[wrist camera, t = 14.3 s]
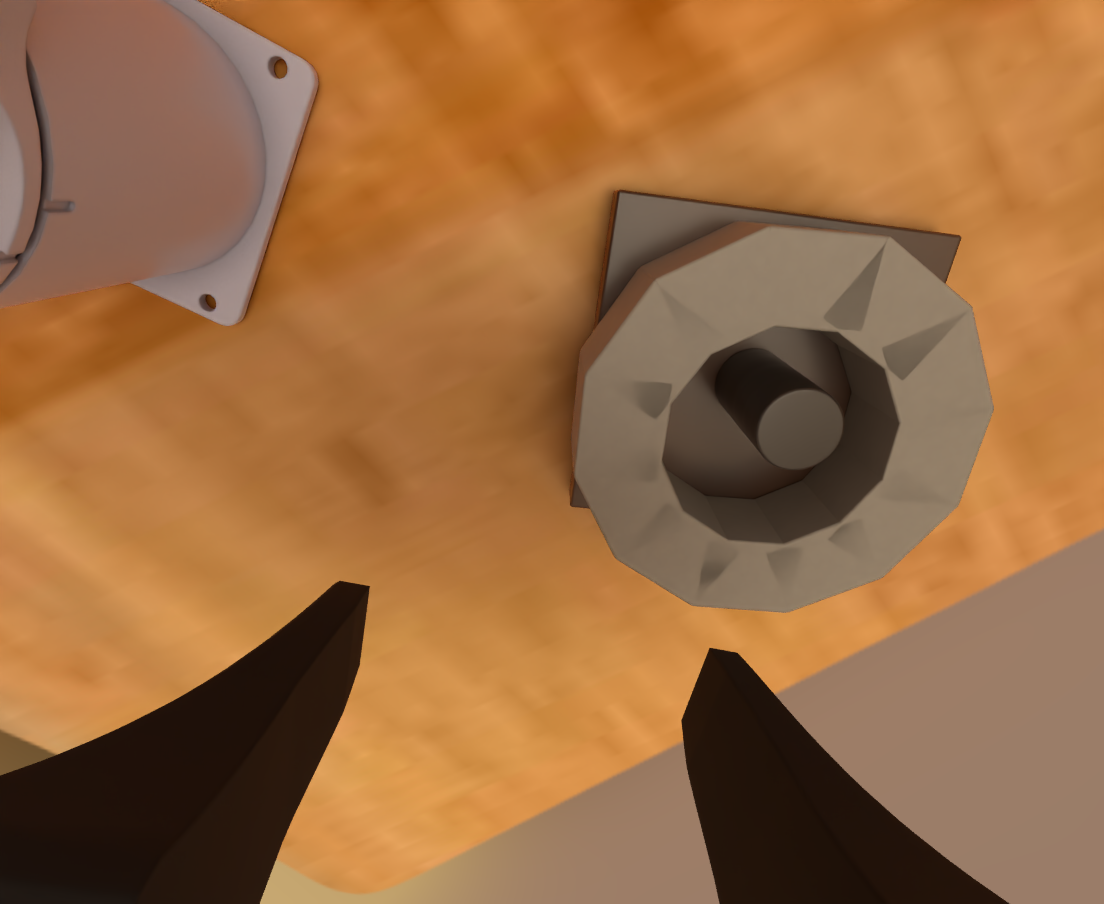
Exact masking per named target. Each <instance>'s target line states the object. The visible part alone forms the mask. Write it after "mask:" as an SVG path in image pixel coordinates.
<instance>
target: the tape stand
mask: <svg viewBox="0 0 1104 904" xmlns="http://www.w3.org/2000/svg"><path fill="white" fill-rule="evenodd" d="M738 221H744V222H755V223H766V224H777V225H788V226H799V227H810V228H821V229H832V230H842V231H850V232H859V233H868V234H876V235H885V236H890V237H891V238H892V239H894V240H895V241H896V242H897V243H898V244H899V245H901V246H902V247H903V248H904V249H905V250H906V251H908V252H909V253H910V254H911V255H912V256H913V257H915V258H916V259H917V260H918V261H919V262H921V263H922V264H923V265H924V266H925V267H926V268H928V269H929V270H930V271H931V272H932V273H933V274H935V275H936V276H937V277H938V278H939V279H940V280H942V281H943V282H944V283H946V281H947V278H948V275H949V272H950V269H951V266H952V263H953V261H954V258H955V255H956V252H957V249H958V246H959V243H960V241H961V236H959V235H954V234H946V233H939V232H931V231H924V230H916V229H909V228H901V227H894V226H887V225H879V224H872V223H864V222H857V221H849V220H842V219H834V218H827V217H820V216H812V215H805V214H797V213H790V212H782V211H775V210H767V209H760V208H753V207H745V206H738V205H730V204H723V203H715V202H708V201H700V200H693V199H686V198H678V197H671V196H663V195H656V194H648V193H641V192H633V191H626V190H616V191H615V192H614V194H613V201H612V208H611V214H610V221H609V228H608V235H607V241H606V248H605V255H604V262H603V268H602V275H601V282H600V289H599V295H598V302H597V309H596V316H595V322H594V329H593V331H594V330H595V328H596V327H597V325H598V324H599V323H600V321H601V320H602V319H603V317H604V316H605V314H606V313H607V312H608V310H609V309H610V307H611V306H612V305H613V303H614V302H615V300H616V299H617V298H618V296H619V295H620V294H621V292H622V291H623V289H624V288H625V287H626V285H627V284H628V282H629V281H630V280H631V278H632V277H633V276H634V274H635V273H636V271H637V270H638V269H639V268H640V267H641V266H643V265H645V264H647V263H649V262H651V261H653V260H655V259H657V258H659V257H661V256H664V255H666V254H668V253H670V252H672V251H674V250H676V249H678V248H680V247H683V246H685V245H687V244H689V243H691V242H693V241H695V240H697V239H699V238H701V237H704V236H706V235H708V234H710V233H712V232H714V231H716V230H718V229H720V228H722V227H725V226H727V225H729V224H731V223H733V222H738ZM851 393H852V391H851V388H850V385H849V381H848V378H847V375H846V371H845V368H844V365H843V361H842V358H841V355H840V351H839V348H838V345H837V344H836V343H834V342H833V341H832V340H831V339H829V338H828V337H827V336H825V335H824V334H823V333H822V332H820V331H815V330H804V329H792V328H780V327H772V328H770V329H768V330H765V331H763V332H761V333H759V334H756V335H754V336H752V337H750V338H747V339H745V340H743V341H741V342H738V343H736V344H734V345H732V346H729V347H727V348H725V349H723V350H720V351H718V352H716V353H713V354H711V355H710V357H709V358H708V359H707V360H706V362H705V363H704V364H703V365H702V367H701V368H700V369H699V370H698V371H697V373H696V374H695V375H694V376H693V378H692V379H691V380H690V381H689V383H688V384H687V385H686V386H685V388H684V389H683V390H682V391H681V393H680V394H679V395H678V396H677V398H676V399H675V400H674V401H673V403H672V404H671V409H670V415H669V421H668V427H667V433H666V440H665V446H664V452H663V458H662V461H663V463H664V465H665V468H666V470H668V471H669V472H671V473H672V474H674V475H675V476H677V477H678V478H680V479H681V480H683V481H684V482H686V483H687V484H688V485H690V486H691V487H693V488H694V489H696V490H697V491H699V492H700V493H702V494H703V495H705V496H715V497H728V498H741V499H757V498H759V497H762V496H764V495H767V494H769V493H772V492H774V491H777V490H779V489H782V488H784V487H787V486H789V485H792V484H794V483H797V482H799V481H802V480H803V479H804V478H805V477H806V476H807V475H808V474H809V472H810V471H811V470H812V469H813V468H814V467H815V466H816V465H817V464H819V463H821V462H822V461H824V460H825V459H826V458H827V457H829V456H830V455H831V454H832V453H833V451H834V450H835V449H836V447H837V446H838V444H839V442H840V441H841V438H842V435H843V431H844V418H845V414H846V411H847V407H848V403H849V400H850V396H851ZM570 505H571V506H572V507H580V508H589V506H588V504H587V502H586V500H585V498H584V496H583V494H582V492H581V490H580V488H579V486H578V484H577V482H576V480H575V477H574V472H573V471H572V477H571V484H570ZM589 509H590V508H589Z"/></svg>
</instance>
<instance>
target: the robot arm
mask: <svg viewBox="0 0 1104 904" xmlns="http://www.w3.org/2000/svg"><path fill="white" fill-rule="evenodd" d="M280 59H283V60H285V62H286V64H287V67H288V68H287V74H286V76H285V77H284V78H281V79H279V78H277V77H276V75H275V72H274V64H275V63H276V61H277V60H280ZM318 82H319V81H318V76H317V73H316V71H315V69H314V68H313V66H312V65H311V64H310V63H308V62H307V61H306V60H304V59H302V58H300V57H299V56H297V55H295V54H293V53H291V52H290V51H288V50H286V49H284V48H282V47H280V46H279V45H277V44H275V43H273V42H271V41H270V40H268V39H266V38H264V37H262V36H261V35H259V34H257V33H255V32H253V31H251V30H250V29H248V28H246V27H244V26H242V25H241V24H239V23H237V22H235V21H233V20H231V19H230V18H228V17H226V16H224V15H222V14H221V13H219V12H217V11H215V10H213V9H212V8H210V7H208V6H206V5H204V4H202V3H201V2H199V1H197V0H0V308H5V307H10V306H15V305H20V304H25V303H30V302H35V301H40V300H45V299H50V298H55V297H60V296H65V295H70V294H74V293H79V292H84V291H89V290H94V289H99V288H104V287H109V286H114V285H119V284H124V283H129V282H130V283H132V284H134V285H136V286H139V287H141V288H143V289H145V290H147V291H149V292H151V293H154V294H156V295H158V296H160V297H162V298H164V299H167V300H169V301H171V302H173V303H175V304H177V305H179V306H182V307H184V308H186V309H188V310H190V311H192V312H194V313H197V314H199V315H201V316H203V317H205V318H207V319H210V320H212V321H214V322H216V323H218V324H220V325H224V326H231V325H234V324H237V323H239V322H240V321H242V319H243V318H244V316H245V313H246V310H247V307H248V304H249V300H250V297H251V294H252V291H253V288H254V285H255V282H256V279H257V276H258V273H259V269H260V266H261V263H262V260H263V257H264V254H265V251H266V248H267V245H268V241H269V238H270V235H271V232H272V229H273V226H274V223H275V220H276V217H277V214H278V210H279V207H280V204H281V201H282V198H283V195H284V192H285V189H286V186H287V182H288V179H289V176H290V173H291V170H292V167H293V164H294V161H295V158H296V154H297V151H298V148H299V145H300V142H301V139H302V136H303V133H304V130H305V127H306V123H307V120H308V117H309V114H310V111H311V108H312V105H313V102H314V99H315V95H316V92H317V89H318ZM207 294H209V295H211V296H212V297H214V299H215V301H216V308H215V309H212V308H211V307H209V306H208V305H207V303H206V296H207ZM369 588H370V586H366V585H360V584H355V583H349V582H344V581H339V582H337V583H335V584H334V585H332V586H331V587H330V588H329V589H328V590H327V591H326V592H325V593H324V594H322V595H321V596H320V597H319V598H318V599H317V600H316V601H314V602H313V603H312V604H311V605H310V606H309V607H307V608H306V609H305V610H304V611H303V612H302V613H300V614H299V615H298V616H297V617H296V618H294V619H293V620H292V621H291V622H289V623H288V624H287V625H285V626H284V627H283V628H282V629H280V630H279V631H278V632H277V633H275V634H274V635H273V636H271V637H270V638H269V639H268V640H266V641H265V642H264V643H262V644H261V645H259V646H258V647H257V648H255V649H254V650H252V651H251V652H249V653H248V654H247V655H245V656H244V657H242V658H241V659H240V660H238V661H237V662H235V663H234V664H232V665H231V666H230V667H228V668H227V669H225V670H223V671H222V672H220V673H219V674H217V675H216V676H214V677H213V678H211V679H209V680H208V681H206V682H205V683H203V684H201V685H200V686H198V687H196V688H195V689H193V690H191V691H189V692H188V693H186V694H184V695H183V696H181V697H179V698H177V699H176V700H174V701H172V702H170V703H168V704H166V705H164V706H162V707H161V708H159V709H157V710H155V711H153V712H151V713H149V714H147V715H145V716H143V717H141V718H139V719H137V720H135V721H133V722H131V723H129V724H127V725H125V726H123V727H121V728H119V729H116V730H114V731H112V732H110V733H107V734H105V735H103V736H101V737H98V738H96V739H94V740H92V741H89V742H87V743H85V744H82V745H80V746H77V747H75V748H73V749H70V750H68V751H65V752H63V753H60V754H58V755H55V756H53V757H50V758H48V759H45V760H43V761H41V762H37V763H35V764H32V765H29V766H26V767H24V768H21V769H18V770H15V771H12V772H9V773H6V774H4V775H1V776H0V904H260V901H261V898H262V896H263V893H264V890H265V888H266V885H267V882H268V880H269V877H270V874H271V871H272V869H273V866H274V863H275V861H276V858H277V855H278V853H279V850H280V847H281V845H282V842H283V840H284V837H285V835H286V833H287V830H288V828H289V826H290V823H291V821H292V819H293V817H294V814H295V812H296V810H297V808H298V806H299V804H300V802H301V800H302V798H303V796H304V794H305V792H306V789H307V787H308V785H309V783H310V781H311V779H312V777H313V775H314V773H315V771H316V769H317V767H318V764H319V762H320V760H321V758H322V756H323V754H324V752H325V750H326V748H327V746H328V744H329V741H330V739H331V737H332V735H333V733H334V731H335V729H336V727H337V725H338V722H339V720H340V718H341V716H342V714H343V712H344V709H345V706H346V703H347V700H348V698H349V695H350V692H351V689H352V686H353V683H354V680H355V677H356V674H357V671H358V668H359V665H360V658H361V650H362V642H363V635H364V627H365V619H366V612H367V604H368V596H369ZM682 730H683V740H684V749H685V756H686V764H687V770H688V775H689V779H690V783H691V787H692V791H693V796H694V799H695V804H696V808H697V812H698V816H699V820H700V824H701V828H702V832H703V836H704V839H705V843H706V848H707V851H708V855H709V859H710V863H711V868H712V871H713V875H714V879H715V884H716V889H717V893H718V898H719V903H720V904H1009V903H1007V902H1006V901H1005V900H1003V899H1002V898H1000V897H999V896H998V895H996V894H995V893H993V892H992V891H991V890H989V889H988V888H986V887H985V886H983V885H982V884H980V883H979V882H978V881H976V880H975V879H973V878H972V877H971V876H969V875H968V874H966V873H965V872H964V871H962V870H961V869H960V868H958V867H957V866H956V865H954V864H953V863H952V862H950V861H949V860H948V859H946V858H945V857H944V856H942V855H941V854H940V853H939V852H937V851H936V850H935V849H934V848H933V847H931V846H930V845H929V844H928V843H926V842H925V841H924V840H922V839H921V838H920V837H919V836H917V835H916V834H915V833H914V832H912V831H911V830H910V829H909V828H908V827H906V826H905V825H904V824H903V823H902V822H900V821H899V820H898V819H897V818H896V817H895V816H893V815H892V814H891V813H890V812H889V811H888V810H887V809H885V808H884V807H883V806H882V805H881V804H880V803H879V802H878V801H877V800H876V799H874V798H873V797H872V796H871V795H870V794H869V793H868V792H867V791H865V790H864V789H863V788H862V787H861V786H860V785H859V784H858V783H857V782H856V781H855V780H854V779H853V778H852V777H851V776H850V775H849V774H848V773H847V772H846V771H844V769H842V767H841V766H840V765H839V764H838V763H837V762H836V761H835V760H834V759H833V758H832V757H831V756H830V755H829V754H828V753H827V752H826V751H825V750H824V749H823V748H822V747H821V746H820V745H819V744H818V743H817V742H816V740H815V739H814V738H813V737H812V736H811V735H810V734H809V733H808V732H807V731H806V730H805V729H804V727H803V726H802V725H801V724H800V723H799V722H798V721H797V720H796V719H795V718H794V716H793V715H792V714H791V713H790V712H789V711H788V710H787V708H786V707H785V706H784V705H783V704H782V703H781V702H780V700H779V699H778V698H777V697H776V696H775V695H774V693H773V692H772V691H771V690H770V689H769V688H768V687H767V685H766V684H765V683H764V682H763V681H762V680H761V678H760V677H759V676H758V675H757V674H756V673H755V672H754V670H753V669H752V668H751V667H750V666H749V665H748V664H747V663H746V661H745V660H744V659H743V658H742V657H741V656H740V655H739V654H738V653H735V652H730V651H724V650H719V649H713V648H709V651H708V654H707V656H706V659H705V661H704V664H703V666H702V669H701V672H700V674H699V677H698V679H697V682H696V684H695V687H694V689H693V692H692V695H691V697H690V700H689V702H688V705H687V707H686V710H685V713H684V715H683V718H682Z"/></svg>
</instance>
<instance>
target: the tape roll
mask: <svg viewBox="0 0 1104 904" xmlns="http://www.w3.org/2000/svg"><path fill="white" fill-rule="evenodd" d="M772 327H780V328H792V329H804V330H815V331H820V332H822V333H823V334H824V335H825V336H827V337H828V338H829V339H831V340H832V341H833V342H834V343H836V344H837V345H838V348H839V351H840V355H841V358H842V361H843V365H844V368H845V371H846V375H847V378H848V381H849V385H850V388H851V391H852V393H851V396H850V400H849V403H848V407H847V411H846V414H845V418H844V431H843V435H842V438H841V441H840V442H839V444H838V446H837V447H836V449H835V450H834V451H833V453H832V454H831V455H830V456H829V457H827V458H826V459H825V460H824V461H822V462H821V463H819V464H817V465H816V466H815V467H814V468H813V469H812V470H811V471H810V472H809V474H808V475H807V476H806V477H805V478H804V479H803V480H802V481H799V482H797V483H794V484H792V485H789V486H787V487H784V488H782V489H779V490H777V491H774V492H772V493H769V494H767V495H764V496H762V497H759V498H757V499H741V498H728V497H715V496H705V495H703V494H702V493H700V492H699V491H697V490H696V489H694V488H693V487H691V486H690V485H688V484H687V483H686V482H684V481H683V480H681V479H680V478H678V477H677V476H675V475H674V474H672V473H671V472H669V471H668V470H666V468H665V465H664V463H663V461H662V458H663V452H664V446H665V440H666V433H667V427H668V421H669V415H670V409H671V404H672V403H673V401H674V400H675V399H676V398H677V396H678V395H679V394H680V393H681V391H682V390H683V389H684V388H685V386H686V385H687V384H688V383H689V381H690V380H691V379H692V378H693V376H694V375H695V374H696V373H697V371H698V370H699V369H700V368H701V367H702V365H703V364H704V363H705V362H706V360H707V359H708V358H709V357H710V355H711V354H713V353H716V352H718V351H720V350H723V349H725V348H727V347H729V346H732V345H734V344H736V343H738V342H741V341H743V340H745V339H747V338H750V337H752V336H754V335H756V334H759V333H761V332H763V331H765V330H768V329H770V328H772ZM993 410H994V407H993V402H992V397H991V393H990V388H989V383H988V379H987V374H986V369H985V365H984V360H983V355H982V351H981V346H980V341H979V337H978V332H977V327H976V323H975V318H974V313H973V309H972V306H971V305H970V304H968V303H967V302H966V301H965V300H964V299H963V298H961V297H960V296H959V295H958V294H957V293H956V292H954V291H953V290H952V289H951V288H950V287H949V286H947V285H946V284H945V283H944V282H943V281H942V280H940V279H939V278H938V277H937V276H936V275H935V274H933V273H932V272H931V271H930V270H929V269H928V268H926V267H925V266H924V265H923V264H922V263H921V262H919V261H918V260H917V259H916V258H915V257H913V256H912V255H911V254H910V253H909V252H908V251H906V250H905V249H904V248H903V247H902V246H901V245H899V244H898V243H897V242H896V241H895V240H894V239H892V238H891V237H890V236H885V235H876V234H868V233H859V232H850V231H842V230H832V229H821V228H810V227H799V226H788V225H777V224H766V223H755V222H744V221H738V222H733V223H731V224H729V225H727V226H725V227H722V228H720V229H718V230H716V231H714V232H712V233H710V234H708V235H706V236H704V237H701V238H699V239H697V240H695V241H693V242H691V243H689V244H687V245H685V246H683V247H680V248H678V249H676V250H674V251H672V252H670V253H668V254H666V255H664V256H661V257H659V258H657V259H655V260H653V261H651V262H649V263H647V264H645V265H643V266H641V267H640V268H639V269H638V270H637V271H636V273H635V274H634V276H633V277H632V278H631V280H630V281H629V282H628V284H627V285H626V287H625V288H624V289H623V291H622V292H621V294H620V295H619V296H618V298H617V299H616V300H615V302H614V303H613V305H612V306H611V307H610V309H609V310H608V312H607V313H606V314H605V316H604V317H603V319H602V320H601V321H600V323H599V324H598V325H597V327H596V328H595V330H594V331H593V332H592V334H591V335H590V337H589V338H588V339H587V341H586V342H585V343H584V345H583V346H582V348H581V350H580V355H579V365H578V375H577V384H576V394H575V404H574V414H573V423H572V433H571V445H572V458H573V472H574V477H575V480H576V482H577V484H578V486H579V488H580V490H581V492H582V494H583V496H584V498H585V500H586V502H587V504H588V506H589V508H590V510H591V512H592V514H593V516H594V518H595V520H596V522H597V524H598V526H599V528H600V530H601V531H602V533H603V535H604V537H605V539H606V541H607V543H608V545H609V547H610V549H611V551H612V553H613V555H614V557H615V558H616V559H617V560H619V561H620V562H622V563H623V564H625V565H627V566H628V567H630V568H632V569H633V570H635V571H636V572H638V573H640V574H641V575H643V576H644V577H646V578H648V579H649V580H651V581H653V582H654V583H656V584H657V585H659V586H661V587H662V588H664V589H666V590H667V591H669V592H670V593H672V594H674V595H675V596H677V597H679V598H680V599H682V600H683V601H685V602H687V603H688V604H690V605H692V606H699V607H713V608H727V609H741V610H755V611H769V612H783V613H786V612H790V611H793V610H796V609H799V608H801V607H804V606H807V605H810V604H812V603H815V602H818V601H821V600H823V599H826V598H829V597H832V596H834V595H837V594H840V593H843V592H845V591H848V590H851V589H854V588H856V587H859V586H862V585H865V584H867V583H870V582H873V581H876V580H878V579H881V578H882V577H884V576H885V575H886V574H887V573H888V572H889V571H890V570H891V569H892V568H893V567H894V566H895V565H896V564H898V563H899V562H900V561H901V560H902V559H903V558H904V557H905V556H906V555H907V554H908V553H909V552H910V551H911V550H912V549H913V548H914V547H915V546H916V545H918V544H919V543H920V542H921V541H922V540H923V539H924V538H925V537H926V536H927V535H928V534H929V533H930V532H931V531H932V530H933V529H934V528H935V527H936V526H938V525H939V524H940V523H941V522H942V521H943V520H944V519H945V518H946V517H947V516H948V515H949V514H950V513H951V512H952V511H953V510H954V509H955V508H957V507H958V505H959V503H960V500H961V497H962V494H963V492H964V489H965V486H966V484H967V481H968V478H969V475H970V473H971V470H972V467H973V465H974V462H975V459H976V456H977V454H978V451H979V448H980V446H981V443H982V440H983V437H984V435H985V432H986V429H987V427H988V424H989V421H990V418H991V416H992V413H993Z"/></svg>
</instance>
